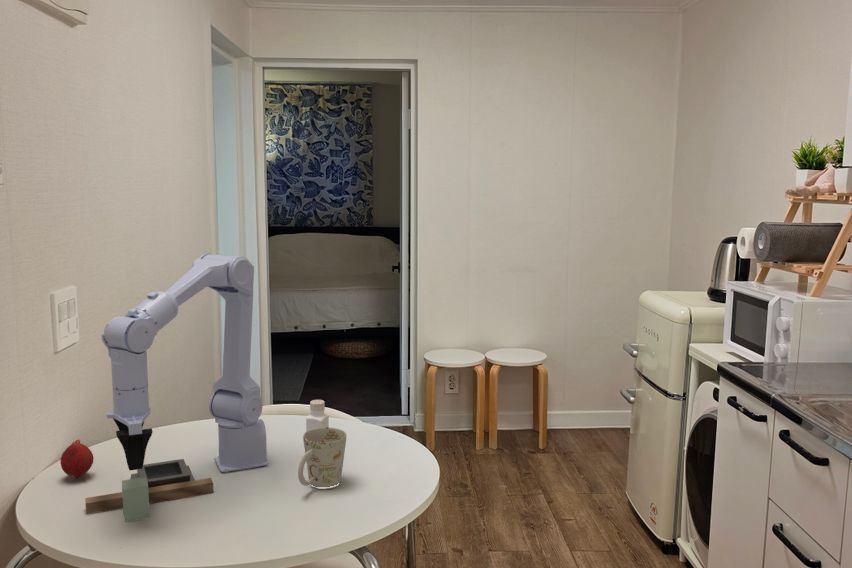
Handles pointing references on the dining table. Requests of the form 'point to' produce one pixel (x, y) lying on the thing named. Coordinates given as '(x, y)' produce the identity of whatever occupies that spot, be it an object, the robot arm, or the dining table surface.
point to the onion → (76, 459)
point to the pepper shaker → (317, 416)
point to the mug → (323, 457)
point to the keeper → (165, 473)
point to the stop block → (135, 499)
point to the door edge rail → (151, 495)
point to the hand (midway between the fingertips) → (133, 460)
